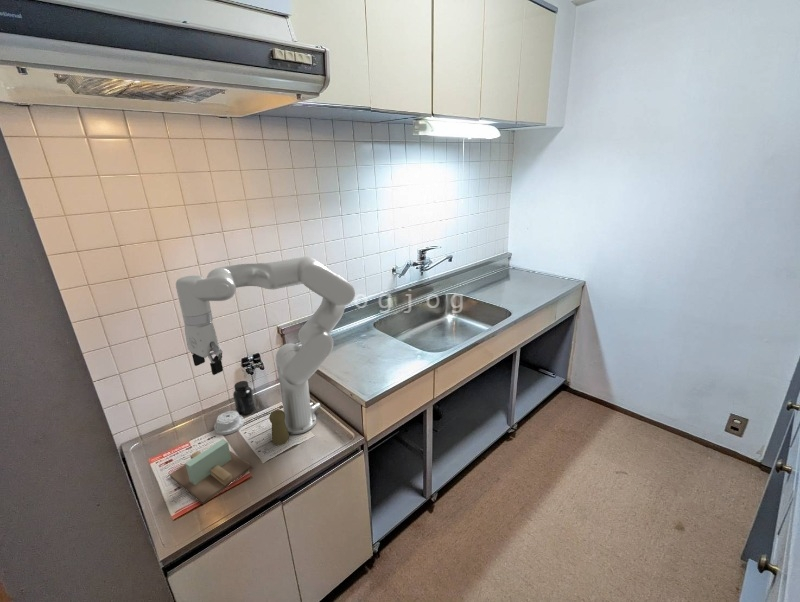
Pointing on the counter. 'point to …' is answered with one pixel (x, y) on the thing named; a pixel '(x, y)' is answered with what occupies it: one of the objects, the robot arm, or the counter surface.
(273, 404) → the counter surface
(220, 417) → the mechanical component
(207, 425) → the counter surface
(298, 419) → the robot arm
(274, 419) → the cork
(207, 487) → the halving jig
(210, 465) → the sage plate
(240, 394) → the supplement bottle
